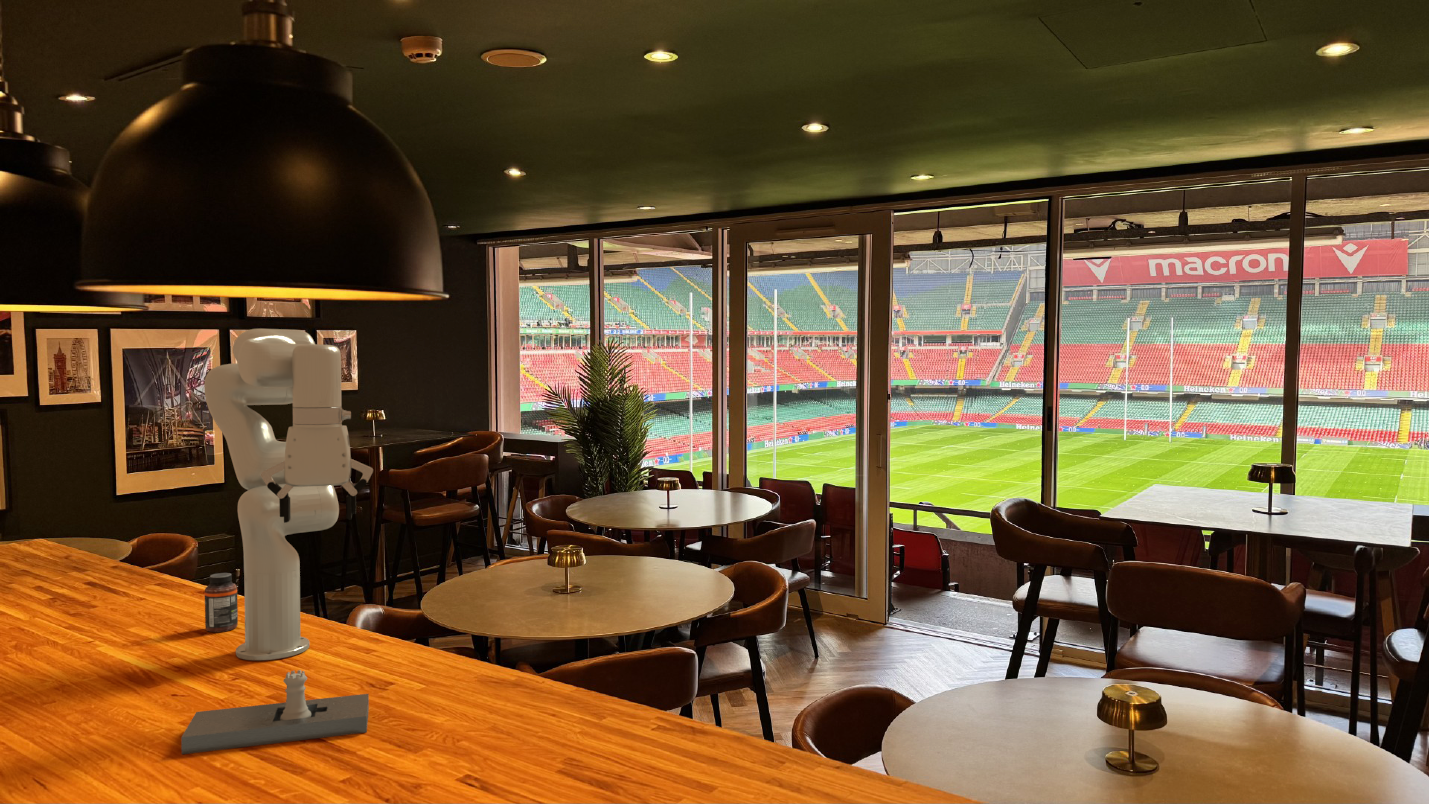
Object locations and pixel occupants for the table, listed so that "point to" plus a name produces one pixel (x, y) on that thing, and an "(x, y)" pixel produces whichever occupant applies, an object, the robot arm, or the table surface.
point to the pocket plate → (274, 724)
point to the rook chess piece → (295, 697)
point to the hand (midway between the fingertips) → (318, 519)
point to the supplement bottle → (221, 603)
